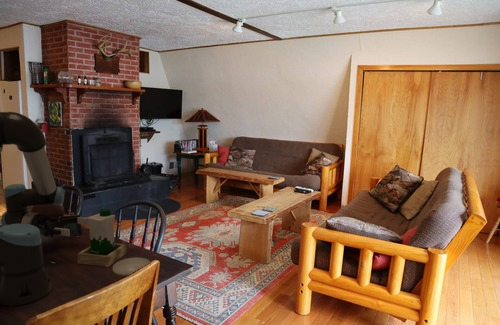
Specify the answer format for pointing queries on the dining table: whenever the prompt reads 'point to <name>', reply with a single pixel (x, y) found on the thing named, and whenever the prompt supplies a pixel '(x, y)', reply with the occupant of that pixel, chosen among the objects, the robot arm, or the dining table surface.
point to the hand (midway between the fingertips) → (80, 226)
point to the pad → (129, 266)
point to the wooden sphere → (49, 210)
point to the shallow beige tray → (102, 256)
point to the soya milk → (102, 232)
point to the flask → (73, 227)
